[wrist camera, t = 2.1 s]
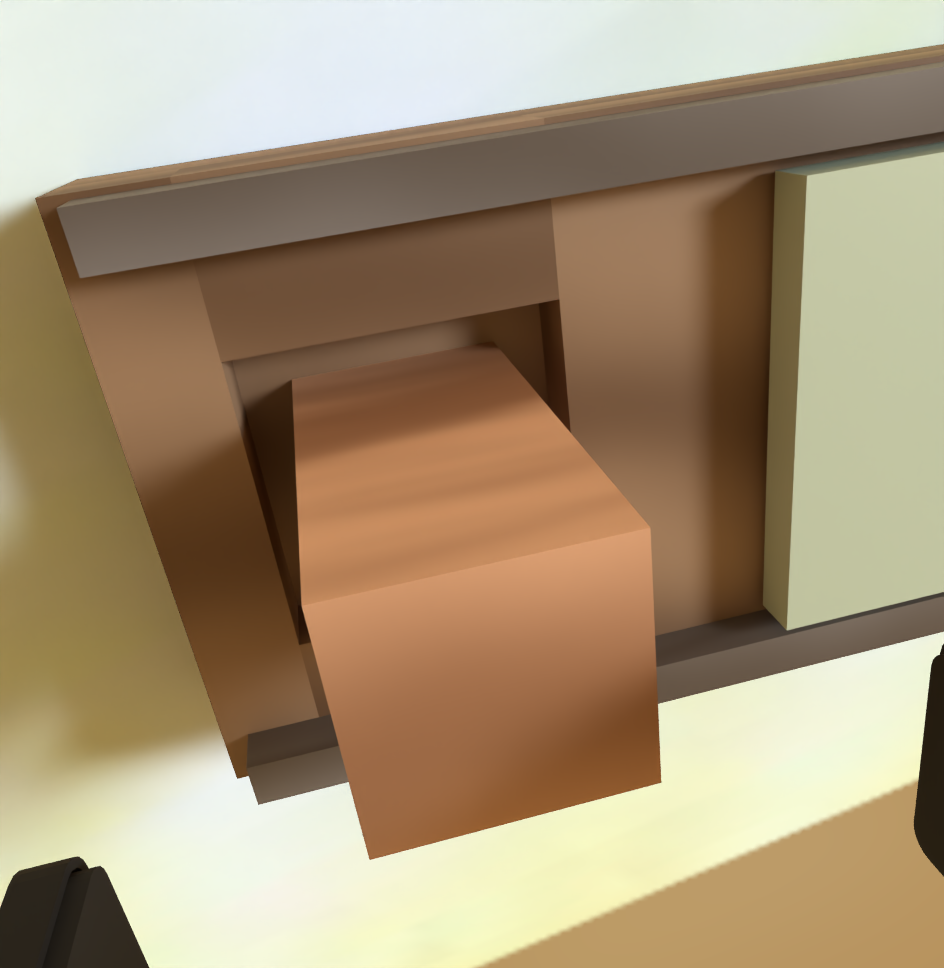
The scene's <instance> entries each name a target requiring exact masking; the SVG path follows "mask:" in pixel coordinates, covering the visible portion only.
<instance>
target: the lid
mask: <svg viewBox="0 0 944 968" xmlns="http://www.w3.org/2000/svg"><path fill="white" fill-rule="evenodd" d="M941 592H944V142H938V143H932V144H927V145H921V146H915V147H909V148H903V149H897V150H892V151H886V152H880V153H874V154H868V155H863V156H857V157H851V158H845V159H839V160H833V161H828V162H822V163H816V164H810V165H804V166H799V167H793V168H787V169H781V170H775V194H774V229H773V265H772V300H771V335H770V370H769V405H768V440H767V475H766V510H765V545H764V580H763V606H764V607H765V608H766V609H767V610H768V611H769V612H770V613H771V614H772V615H773V616H774V617H775V619H776V620H777V621H778V622H779V623H780V624H781V625H782V626H783V627H784V628H785V629H786V630H791V629H795V628H799V627H803V626H807V625H811V624H815V623H819V622H823V621H828V620H832V619H836V618H840V617H844V616H848V615H852V614H856V613H860V612H864V611H868V610H872V609H876V608H880V607H884V606H889V605H893V604H897V603H901V602H905V601H909V600H913V599H917V598H921V597H925V596H929V595H933V594H937V593H941Z"/></svg>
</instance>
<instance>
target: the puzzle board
mask: <svg viewBox="0 0 944 968" xmlns="http://www.w3.org/2000/svg"><path fill="white" fill-rule="evenodd" d="M938 142H944V44H942V45H936V46H929V47H923V48H916V49H910V50H903V51H897V52H891V53H884V54H878V55H871V56H865V57H859V58H852V59H846V60H839V61H833V62H826V63H820V64H814V65H807V66H801V67H794V68H788V69H782V70H775V71H769V72H762V73H756V74H749V75H743V76H737V77H730V78H724V79H717V80H711V81H705V82H698V83H692V84H685V85H679V86H673V87H666V88H660V89H653V90H647V91H640V92H634V93H628V94H621V95H615V96H608V97H602V98H596V99H589V100H583V101H576V102H570V103H563V104H557V105H551V106H544V107H538V108H531V109H525V110H519V111H512V112H506V113H499V114H493V115H487V116H480V117H474V118H467V119H461V120H454V121H448V122H442V123H435V124H429V125H422V126H416V127H410V128H403V129H397V130H390V131H384V132H377V133H371V134H365V135H358V136H352V137H345V138H339V139H333V140H326V141H320V142H313V143H307V144H300V145H294V146H288V147H281V148H275V149H268V150H262V151H256V152H249V153H243V154H236V155H230V156H224V157H217V158H211V159H204V160H198V161H191V162H185V163H179V164H172V165H166V166H159V167H153V168H147V169H140V170H134V171H127V172H121V173H114V174H108V175H102V176H95V177H89V178H82V179H77V180H75V181H72V182H70V183H68V184H66V185H64V186H61V187H59V188H57V189H55V190H53V191H50V192H48V193H46V194H44V195H42V196H39V197H37V198H35V199H36V202H37V205H38V208H39V211H40V214H41V216H42V219H43V222H44V225H45V228H46V231H47V234H48V237H49V239H50V242H51V245H52V248H53V251H54V254H55V257H56V260H57V262H58V265H59V268H60V271H61V274H62V277H63V280H64V282H65V285H66V288H67V291H68V294H69V297H70V300H71V303H72V305H73V308H74V311H75V314H76V317H77V320H78V323H79V326H80V328H81V331H82V334H83V337H84V340H85V343H86V346H87V349H88V351H89V354H90V357H91V360H92V363H93V366H94V369H95V372H96V374H97V377H98V380H99V383H100V386H101V389H102V392H103V395H104V397H105V400H106V403H107V406H108V409H109V412H110V415H111V417H112V420H113V423H114V426H115V429H116V432H117V435H118V438H119V440H120V443H121V446H122V449H123V452H124V455H125V458H126V461H127V463H128V466H129V469H130V472H131V475H132V478H133V481H134V484H135V486H136V489H137V492H138V495H139V498H140V501H141V504H142V507H143V509H144V512H145V515H146V518H147V521H148V524H149V527H150V529H151V532H152V535H153V538H154V541H155V544H156V547H157V550H158V552H159V555H160V558H161V561H162V564H163V567H164V570H165V573H166V575H167V578H168V581H169V584H170V587H171V590H172V593H173V596H174V598H175V601H176V604H177V607H178V610H179V613H180V616H181V619H182V621H183V624H184V627H185V630H186V633H187V636H188V639H189V642H190V644H191V647H192V650H193V653H194V656H195V659H196V662H197V664H198V667H199V670H200V673H201V676H202V679H203V682H204V685H205V687H206V690H207V693H208V696H209V699H210V702H211V705H212V708H213V710H214V713H215V716H216V719H217V722H218V725H219V728H220V731H221V733H222V736H223V739H224V742H225V745H226V748H227V751H228V754H229V756H230V759H231V762H232V765H233V768H234V771H235V774H236V777H237V779H238V778H242V777H246V776H249V778H250V781H251V784H252V787H253V790H254V793H255V796H256V799H257V802H258V805H259V804H263V803H267V802H271V801H275V800H279V799H283V798H287V797H291V796H295V795H299V794H303V793H306V792H310V791H314V790H318V789H322V788H326V787H330V786H334V785H338V784H342V783H346V782H349V781H348V777H347V773H346V770H345V766H344V762H343V758H342V755H341V751H340V747H339V744H338V740H337V736H336V732H335V729H334V725H333V721H332V717H331V714H330V710H329V706H328V703H327V699H326V695H325V691H324V688H323V684H322V680H321V676H320V673H319V669H318V665H317V661H316V658H315V654H314V650H313V647H312V643H311V639H310V635H309V632H308V628H307V624H306V620H305V617H304V613H303V609H302V603H301V580H300V557H299V534H298V511H297V488H296V464H295V441H294V418H293V395H292V379H297V378H302V377H307V376H313V375H318V374H323V373H328V372H334V371H339V370H344V369H349V368H355V367H360V366H365V365H370V364H376V363H381V362H386V361H391V360H397V359H402V358H407V357H412V356H418V355H423V354H428V353H433V352H439V351H444V350H449V349H454V348H460V347H465V346H470V345H475V344H481V343H486V342H491V341H493V342H494V343H495V344H496V345H497V346H498V348H499V349H500V350H501V351H502V352H503V353H504V355H505V356H506V357H507V358H508V359H509V361H510V362H511V363H512V364H513V365H514V366H515V368H516V369H517V370H518V371H519V372H520V374H521V375H522V376H523V377H524V378H525V379H526V381H527V382H528V383H529V384H530V385H531V387H532V388H533V389H534V390H535V391H536V393H537V394H538V395H539V396H540V397H541V398H542V400H543V401H544V402H545V403H546V404H547V406H548V407H549V408H550V409H551V410H552V411H553V413H554V414H555V415H556V416H557V417H558V419H559V420H560V421H561V422H562V423H563V424H564V426H565V427H566V428H567V429H568V430H569V432H570V433H571V434H572V435H573V436H574V438H575V439H576V440H577V441H578V442H579V443H580V445H581V446H582V447H583V448H584V449H585V451H586V452H587V453H588V454H589V455H590V456H591V458H592V459H593V460H594V461H595V462H596V464H597V465H598V466H599V467H600V468H601V470H602V471H603V472H604V473H605V474H606V475H607V477H608V478H609V479H610V480H611V481H612V483H613V484H614V485H615V486H616V487H617V488H618V490H619V491H620V492H621V493H622V494H623V496H624V497H625V498H626V499H627V500H628V501H629V503H630V504H631V505H632V506H633V507H634V509H635V510H636V511H637V512H638V513H639V515H640V516H641V517H642V518H643V519H644V520H645V522H646V523H647V524H648V525H649V526H650V528H651V551H652V575H653V599H654V623H655V647H656V671H657V695H658V704H659V703H663V702H667V701H671V700H675V699H679V698H682V697H686V696H690V695H694V694H698V693H702V692H706V691H710V690H714V689H718V688H722V687H726V686H730V685H734V684H738V683H742V682H746V681H750V680H754V679H758V678H762V677H766V676H770V675H774V674H777V673H781V672H785V671H789V670H793V669H797V668H801V667H805V666H809V665H813V664H817V663H821V662H825V661H829V660H833V659H837V658H841V657H845V656H849V655H853V654H857V653H861V652H865V651H869V650H872V649H876V648H880V647H884V646H888V645H892V644H896V643H900V642H904V641H908V640H912V639H916V638H920V637H924V636H928V635H932V634H936V633H940V632H944V592H941V593H937V594H933V595H929V596H925V597H921V598H917V599H913V600H909V601H905V602H901V603H897V604H893V605H889V606H884V607H880V608H876V609H872V610H868V611H864V612H860V613H856V614H852V615H848V616H844V617H840V618H836V619H832V620H828V621H823V622H819V623H815V624H811V625H807V626H803V627H799V628H795V629H791V630H786V629H785V628H784V627H783V626H782V625H781V624H780V623H779V622H778V621H777V620H776V619H775V617H774V616H773V615H772V614H771V613H770V612H769V611H768V610H767V609H766V608H765V607H764V606H763V580H764V545H765V510H766V475H767V440H768V405H769V370H770V335H771V300H772V265H773V229H774V194H775V170H781V169H787V168H793V167H799V166H804V165H810V164H816V163H822V162H828V161H833V160H839V159H845V158H851V157H857V156H863V155H868V154H874V153H880V152H886V151H892V150H897V149H903V148H909V147H915V146H921V145H927V144H932V143H938Z"/></svg>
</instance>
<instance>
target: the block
mask: <svg viewBox="0 0 944 968" xmlns="http://www.w3.org/2000/svg"><path fill="white" fill-rule="evenodd" d="M292 395H293V418H294V441H295V464H296V488H297V511H298V534H299V557H300V580H301V603H302V609H303V613H304V617H305V620H306V624H307V628H308V632H309V635H310V639H311V643H312V647H313V650H314V654H315V658H316V661H317V665H318V669H319V673H320V676H321V680H322V684H323V688H324V691H325V695H326V699H327V703H328V706H329V710H330V714H331V717H332V721H333V725H334V729H335V732H336V736H337V740H338V744H339V747H340V751H341V755H342V758H343V762H344V766H345V770H346V773H347V777H348V781H349V785H350V788H351V792H352V796H353V799H354V803H355V807H356V811H357V814H358V818H359V822H360V826H361V829H362V833H363V837H364V841H365V844H366V848H367V852H368V855H369V859H370V860H371V859H375V858H379V857H383V856H386V855H390V854H394V853H398V852H401V851H405V850H409V849H413V848H416V847H420V846H424V845H428V844H432V843H435V842H439V841H443V840H447V839H450V838H454V837H458V836H462V835H465V834H469V833H473V832H477V831H481V830H484V829H488V828H492V827H496V826H499V825H503V824H507V823H511V822H514V821H518V820H522V819H526V818H530V817H533V816H537V815H541V814H545V813H548V812H552V811H556V810H560V809H563V808H567V807H571V806H575V805H579V804H582V803H586V802H590V801H594V800H597V799H601V798H605V797H609V796H613V795H616V794H620V793H624V792H628V791H631V790H635V789H639V788H643V787H646V786H650V785H654V784H658V783H661V767H660V743H659V719H658V695H657V671H656V647H655V623H654V599H653V575H652V551H651V528H650V526H649V525H648V524H647V523H646V522H645V520H644V519H643V518H642V517H641V516H640V515H639V513H638V512H637V511H636V510H635V509H634V507H633V506H632V505H631V504H630V503H629V501H628V500H627V499H626V498H625V497H624V496H623V494H622V493H621V492H620V491H619V490H618V488H617V487H616V486H615V485H614V484H613V483H612V481H611V480H610V479H609V478H608V477H607V475H606V474H605V473H604V472H603V471H602V470H601V468H600V467H599V466H598V465H597V464H596V462H595V461H594V460H593V459H592V458H591V456H590V455H589V454H588V453H587V452H586V451H585V449H584V448H583V447H582V446H581V445H580V443H579V442H578V441H577V440H576V439H575V438H574V436H573V435H572V434H571V433H570V432H569V430H568V429H567V428H566V427H565V426H564V424H563V423H562V422H561V421H560V420H559V419H558V417H557V416H556V415H555V414H554V413H553V411H552V410H551V409H550V408H549V407H548V406H547V404H546V403H545V402H544V401H543V400H542V398H541V397H540V396H539V395H538V394H537V393H536V391H535V390H534V389H533V388H532V387H531V385H530V384H529V383H528V382H527V381H526V379H525V378H524V377H523V376H522V375H521V374H520V372H519V371H518V370H517V369H516V368H515V366H514V365H513V364H512V363H511V362H510V361H509V359H508V358H507V357H506V356H505V355H504V353H503V352H502V351H501V350H500V349H499V348H498V346H497V345H496V344H495V343H494V342H493V341H491V342H486V343H481V344H475V345H470V346H465V347H460V348H454V349H449V350H444V351H439V352H433V353H428V354H423V355H418V356H412V357H407V358H402V359H397V360H391V361H386V362H381V363H376V364H370V365H365V366H360V367H355V368H349V369H344V370H339V371H334V372H328V373H323V374H318V375H313V376H307V377H302V378H297V379H292Z"/></svg>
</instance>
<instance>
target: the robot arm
mask: <svg viewBox="0 0 944 968" xmlns="http://www.w3.org/2000/svg"><path fill="white" fill-rule="evenodd" d="M914 830H915V834H916V837H917V840H918V843H919V845H920V847H921V848H922V850H923V852H924V853H925V855H926V856H927V858H928V859H929V860H930V861H931V862H932V863H933V865H934V866H935V867H936V868H937V869H938V870H939V872H940V873H941V874H942V875H943V876H944V644H943V645H942V649H941V652H940V655H938V656H936V657H935V658H934V659H933V662H932V665H931V673H930V682H929V691H928V700H927V709H926V718H925V727H924V736H923V745H922V754H921V763H920V772H919V781H918V789H917V798H916V808H915V816H914ZM0 968H149V966H148V964H147V962H146V960H145V957H144V955H143V953H142V951H141V948H140V946H139V944H138V942H137V939H136V937H135V935H134V933H133V931H132V928H131V926H130V924H129V922H128V919H127V917H126V915H125V913H124V911H123V908H122V906H121V904H120V902H119V899H118V897H117V895H116V893H115V890H114V888H113V886H112V884H111V882H110V879H109V877H108V875H107V873H106V871H105V870H104V868H102V867H101V866H98V867H94V868H90V869H89V868H88V866H87V865H86V863H85V862H84V860H83V859H81V858H80V857H72V858H68V859H64V860H60V861H56V862H52V863H48V864H44V865H40V866H36V867H32V868H28V869H24V870H20V871H18V872H17V873H16V874H15V875H14V876H13V878H12V880H11V882H10V884H9V886H8V888H7V891H6V894H5V897H4V899H3V902H2V905H1V907H0Z"/></svg>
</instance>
